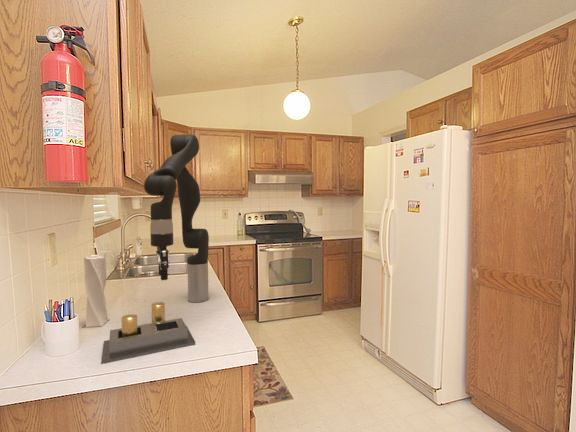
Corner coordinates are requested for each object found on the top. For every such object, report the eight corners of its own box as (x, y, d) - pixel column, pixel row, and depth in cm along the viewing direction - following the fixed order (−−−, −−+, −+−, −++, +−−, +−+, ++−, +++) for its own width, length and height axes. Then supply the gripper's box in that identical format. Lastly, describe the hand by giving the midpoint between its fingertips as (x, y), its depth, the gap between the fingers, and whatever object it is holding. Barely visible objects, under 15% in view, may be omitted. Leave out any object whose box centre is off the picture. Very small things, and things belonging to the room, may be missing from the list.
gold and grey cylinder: (151, 327, 117) (150, 303, 116) (164, 325, 119) (163, 301, 118) (152, 332, 113) (151, 306, 112) (166, 329, 115) (165, 304, 114)
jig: (103, 343, 104) (102, 313, 103) (186, 328, 116) (186, 301, 115) (101, 363, 91) (100, 329, 90) (195, 344, 102) (194, 314, 102)
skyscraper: (113, 320, 125) (111, 249, 124) (104, 328, 117) (102, 252, 116) (90, 321, 124) (87, 249, 123) (79, 329, 116) (76, 253, 115)
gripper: (149, 231, 118) (150, 274, 119) (151, 234, 106) (153, 283, 106) (170, 230, 122) (171, 272, 123) (175, 233, 109) (176, 280, 110)
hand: (163, 277), depth 114 cm, fingers open, 8 cm apart
